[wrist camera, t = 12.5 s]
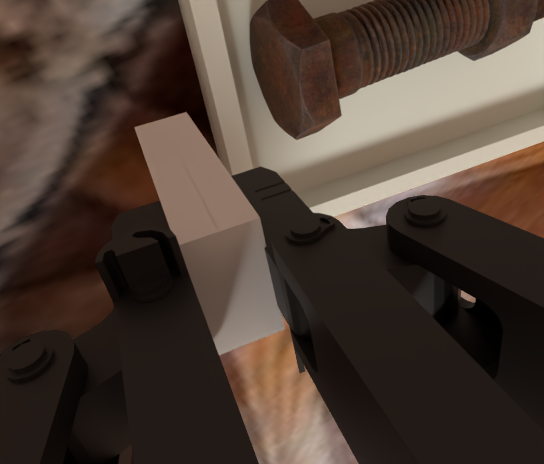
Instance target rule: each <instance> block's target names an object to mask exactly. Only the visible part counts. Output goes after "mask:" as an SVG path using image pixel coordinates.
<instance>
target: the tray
mask: <svg viewBox="0 0 544 464" xmlns="http://www.w3.org/2000/svg"><path fill="white" fill-rule="evenodd" d="M266 1H267V0H178V2H179V6H180V10H181V14H182V18H183V22H184V26H185V29H186V33H187V37H188V41H189V45H190V49H191V53H192V56H193V60H194V64H195V68H196V72H197V76H198V80H199V83H200V87H201V91H202V95H203V99H204V103H205V107H206V110H207V114H208V118H209V122H210V126H211V130H212V134H213V137H214V141H215V145H216V149H217V153H218V157H219V160H220V161H221V162H222V164H223V165H224V167H225V168H226V170H227V171H228V172H229V174H230V175H231V176H232V175H236V174H239V173H242V172H245V171H248V170H251V169H254V168H257V167H260V166H261V167H264V168H267V169H270V170H272V171H275V172H277V173H278V175H279V176H280V177H281V178H282V179H283V180H284V181H285V183H287V184H288V185H289V187H290V188H291V189H292V191H294V192H295V193H296V194H297V195H298V196H299V198H300V199H301V200H302V201H303V202H304V203H305V204H306V205H307V206H308V207H309V209H310V210H311V211H312V212H313V213H322V214H326V215H331V216H332V217H334V216H337V215H340V214H343V213H345V212H348V211H351V210H354V209H357V208H359V207H362V206H365V205H368V204H370V203H373V202H376V201H379V200H382V199H384V198H387V197H390V196H393V195H396V194H398V193H401V192H404V191H407V190H409V189H412V188H415V187H418V186H421V185H423V184H426V183H429V182H432V181H434V180H437V179H440V178H443V177H446V176H448V175H451V174H454V173H457V172H460V171H462V170H465V169H468V168H471V167H473V166H476V165H479V164H482V163H485V162H487V161H490V160H493V159H496V158H498V157H501V156H504V155H507V154H510V153H512V152H515V151H518V150H521V149H524V148H526V147H529V146H532V145H535V144H537V143H540V142H543V141H544V18H542V19H539V20H537V21H534V22H533V25H532V28H531V31H530V33H529V34H528V35H526V36H525V37H523V38H521V39H520V40H518V41H516V42H515V43H513V44H511V45H509V46H507V47H505V48H503V49H501V50H499V51H497V52H495V53H493V54H491V55H488V56H486V57H483V58H481V59H478V60H476V61H472V60H470V59H469V58H467V57H465V56H463V55H462V54H460V53H459V52H453V53H452V54H449V55H446V56H444V57H441V58H439V59H437V60H433V61H431V62H427V63H426V64H422V65H421V66H419V67H415V68H414V69H411V70H408V71H406V72H402V73H400V74H398V75H394V76H392V77H388V78H386V79H384V80H381V81H379V82H377V83H374V84H372V85H368V86H366V87H364V88H361V89H359V90H358V91H357V92H356V93H354V94H352V95H349V96H347V97H344V98H342V99H339V101H340V108H341V114H342V116H341V117H339V118H338V119H336V120H335V121H334V122H332V123H331V124H329V125H328V126H326V127H325V128H323V129H322V130H320V131H319V132H317V133H314V134H312V135H309V136H306V137H304V138H301V139H299V140H296V139H294V138H293V137H291V136H290V135H288V134H287V133H286V132H285V131H284V130H283V129H282V128H281V127H280V126H278V124H277V123H276V122H275V121H274V119H273V117H272V115H271V113H270V110H269V108H268V106H267V104H266V101H265V99H264V97H263V95H262V92H261V89H260V86H259V83H258V81H257V78H256V75H255V72H254V69H253V65H252V60H251V51H250V21H251V19H252V17H253V15H254V14H255V13H256V11H257V10H258V9H259V8H260V7H261V6H262V5H263V4H264V3H265V2H266ZM299 1H300V2H301V4H302V5H303V6H304V8H305V9H306V10H307V11H308V13H309V14H310V15H311V17H312V18H313V19H314V18H317V17H320V16H323V15H326V14H329V13H339V12H342V11H345V10H347V9H352V8H353V7H358V6H360V5H362V4H366V3H368V2H372V1H375V0H299Z"/></svg>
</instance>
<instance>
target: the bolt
mask: <svg viewBox="0 0 544 464" xmlns="http://www.w3.org/2000/svg"><path fill="white" fill-rule="evenodd" d="M542 18H544V0H375V1H372V2H368V3H366V4H362V5H360V6H358V7H353V8H352V9H347V10H345V11H342V12H339V13H329V14H326V15H323V16H320V17H317V18H314V19H313V18H312V17H311V15H310V14H309V13H308V11H307V10H306V9H305V8H304V6H303V5H302V4H301V2H300V1H299V0H267V1H266V2H265V3H264V4H263V5H262V6H261V7H260V8H259V9H258V10H257V11H256V13H255V14H254V15H253V17H252V19H251V21H250V51H251V60H252V65H253V69H254V72H255V75H256V78H257V81H258V83H259V86H260V89H261V92H262V95H263V97H264V99H265V101H266V104H267V106H268V108H269V110H270V113H271V115H272V117H273V119H274V121H275V122H276V123H277V124H278V126H280V127H281V128H282V129H283V130H284V131H285V132H286V133H287V134H288V135H290V136H291V137H293V138H294V139H296V140H299V139H301V138H304V137H306V136H309V135H312V134H314V133H317V132H319V131H320V130H322V129H323V128H325V127H326V126H328V125H329V124H331V123H332V122H334V121H335V120H336V119H338V118H339V117H341V116H342V114H341V108H340V101H339V99H342V98H344V97H347V96H349V95H352V94H354V93H356V92H357V91H358V90H359V89H361V88H364V87H366V86H368V85H372V84H374V83H377V82H379V81H381V80H384V79H386V78H388V77H392V76H394V75H398V74H400V73H402V72H406V71H408V70H411V69H414V68H415V67H419V66H421V65H422V64H426V63H427V62H431V61H433V60H437V59H439V58H441V57H444V56H446V55H449V54H452V53H453V52H459V53H460V54H462V55H463V56H465V57H467V58H469V59H470V60H472V61H476V60H478V59H481V58H483V57H486V56H488V55H491V54H493V53H495V52H497V51H499V50H501V49H503V48H505V47H507V46H509V45H511V44H513V43H515V42H516V41H518V40H520V39H521V38H523V37H525V36H526V35H528V34H529V33H530V31H531V28H532V25H533V22H534V21H537V20H539V19H542Z"/></svg>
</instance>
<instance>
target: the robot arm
mask: <svg viewBox="0 0 544 464" xmlns="http://www.w3.org/2000/svg"><path fill="white" fill-rule="evenodd" d="M134 128H135V131H136V134H137V136H138V139H139V142H140V145H141V148H142V151H143V154H144V156H145V159H146V162H147V165H148V168H149V171H150V174H151V176H152V179H153V182H154V185H155V188H156V191H157V193H158V196H159V199H160V201H157V202H154V203H151V204H148V205H145V206H141V207H138V208H135V209H132V210H129V211H126V212H123V213H120V214H118V215H117V217H116V219H115V221H114V222H113V224H112V226H111V234H112V240H111V241H109V242H108V243H107V244H105V245H104V246H103V248H102V249H101V250H100V251H99V252H98V254H97V257H96V260H95V265H96V267H97V269H98V271H99V273H100V275H101V277H102V280H103V282H104V284H105V286H106V288H107V290H108V292H109V294H110V296H111V298H112V301H113V304H114V309H113V310H112V311H111V313H110V314H109V315H108V316H107V317H106V318H105V319H104V320H103V321H102V322H100V323H99V324H98V325H96V326H95V327H93V328H92V329H90V330H89V331H87V332H85V333H84V334H82V335H80V336H79V337H77V338H75V339H74V340H73V339H72V338H71V336H70V335H69V334H68V333H65V332H62V331H59V330H50V331H41V332H38V333H35V334H32V335H29V336H26V337H25V338H23V339H21V340H19V341H17V342H16V343H14V344H13V345H11V346H10V347H8V348H7V349H6V350H5V351H4V352H3V353H2V354H0V464H259V463H258V460H257V458H256V455H255V452H254V449H253V447H252V444H251V441H250V438H249V436H248V433H247V430H246V428H245V425H244V422H243V419H242V417H241V414H240V411H239V409H238V406H237V403H236V400H235V398H234V395H233V392H232V390H231V387H230V384H229V381H228V379H227V376H226V373H225V370H224V368H223V365H222V362H221V360H220V357H219V355H221V354H223V353H226V352H228V351H231V350H234V349H236V348H239V347H241V346H244V345H246V344H249V343H251V342H254V341H256V340H259V339H261V338H264V337H267V336H269V335H272V334H274V333H277V332H279V331H282V330H284V329H285V327H284V323H283V318H282V314H283V316H284V318H285V320H286V321H287V323H288V325H289V327H290V331H291V336H292V340H293V345H294V350H295V354H296V359H297V364H298V368H299V372H300V373H302V372H304V371H305V369H304V366H305V367H306V369H307V371H308V373H309V375H310V376H311V378H312V380H313V382H314V384H315V385H316V387H317V389H318V391H319V393H320V394H321V396H322V398H323V400H324V402H325V403H326V405H327V407H328V409H329V411H330V412H331V414H332V416H333V418H334V420H335V422H336V423H337V425H338V427H339V429H340V431H341V432H342V434H343V436H344V438H345V440H346V441H347V443H348V445H349V447H350V449H351V450H352V452H353V454H354V456H355V458H356V459H357V461H358V463H359V464H544V238H542V237H539V236H537V235H534V234H532V233H529V232H527V231H525V230H522V229H520V228H517V227H515V226H513V225H510V224H508V223H505V222H503V221H501V220H498V219H496V218H493V217H491V216H488V215H486V214H484V213H481V212H479V211H476V210H474V209H472V208H469V207H467V206H464V205H462V204H459V203H457V202H455V201H452V200H450V199H446V198H442V197H438V196H426V195H420V196H414V197H409V198H406V199H404V200H401V201H398V202H396V203H395V204H394V205H393V206H391V207H390V208H389V210H388V212H387V215H386V225H381V226H374V227H367V228H358V229H347V228H346V227H345V226H344V225H343V224H342V223H341V222H340V221H339V220H337V219H336V218H334V217H332V216H331V215H326V214H322V213H313V212H312V211H311V210H310V209H309V207H308V206H307V205H306V204H305V203H304V202H303V201H302V200H301V199H300V198H299V196H298V195H297V194H296V193H295V192H294V191H292V189H291V188H290V187H289V185H288V184H287V183H285V181H284V180H283V179H282V178H281V177H280V176H279V175H278V173H277V172H275V171H272V170H270V169H267V168H264V167H261V166H260V167H257V168H254V169H251V170H248V171H245V172H242V173H239V174H236V175H232V176H231V175H230V174H229V172H228V171H227V170H226V168H225V167H224V165H223V164H222V162H221V161H220V160H219V158H218V157H217V155H216V154H215V152H214V151H213V150H212V148H211V147H210V145H209V144H208V142H207V141H206V139H205V138H204V137H203V135H202V134H201V132H200V131H199V129H198V128H197V127H196V125H195V124H194V122H193V121H192V119H191V118H190V117H189V115H188V114H187V112H185V113H182V114H178V115H175V116H171V117H168V118H164V119H161V120H157V121H154V122H150V123H147V124H144V125H140V126H137V127H134ZM461 290H462V291H464V292H466V293H468V294H469V295H471V296H473V297H475V298H476V302H475V303H472V302H469V301H467V300H465V299H463V298H462V297H461ZM281 313H282V314H281Z"/></svg>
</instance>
